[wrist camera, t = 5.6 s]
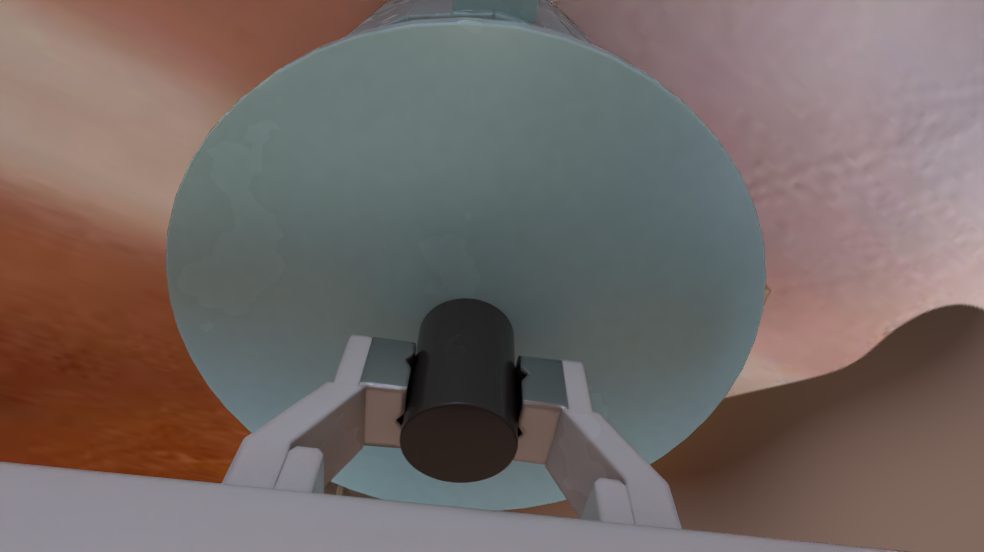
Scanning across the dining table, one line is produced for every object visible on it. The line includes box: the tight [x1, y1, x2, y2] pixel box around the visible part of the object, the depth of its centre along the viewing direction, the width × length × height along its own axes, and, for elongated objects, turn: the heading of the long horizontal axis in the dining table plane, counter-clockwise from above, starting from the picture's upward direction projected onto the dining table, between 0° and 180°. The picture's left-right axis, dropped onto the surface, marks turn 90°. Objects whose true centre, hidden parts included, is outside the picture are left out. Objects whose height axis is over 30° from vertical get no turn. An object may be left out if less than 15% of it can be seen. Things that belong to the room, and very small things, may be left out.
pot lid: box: [166, 17, 766, 511], centre depth 13 cm, size 15×15×5 cm
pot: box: [345, 0, 592, 44], centre depth 24 cm, size 14×19×12 cm
